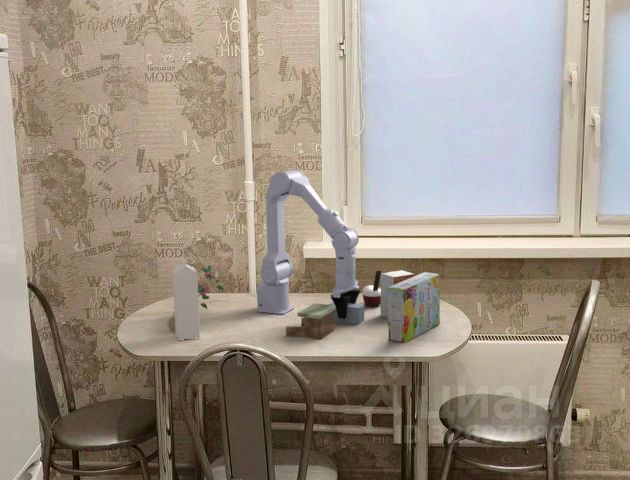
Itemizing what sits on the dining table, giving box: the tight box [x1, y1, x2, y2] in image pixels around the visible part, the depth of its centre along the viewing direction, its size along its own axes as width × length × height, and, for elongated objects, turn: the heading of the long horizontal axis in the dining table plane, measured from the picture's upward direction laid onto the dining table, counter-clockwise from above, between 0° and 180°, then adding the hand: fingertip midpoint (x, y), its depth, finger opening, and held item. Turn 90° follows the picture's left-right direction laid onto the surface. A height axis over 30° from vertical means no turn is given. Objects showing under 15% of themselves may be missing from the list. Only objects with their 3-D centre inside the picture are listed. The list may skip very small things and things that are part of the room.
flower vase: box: [167, 264, 225, 332], centre depth 240 cm, size 12×12×35 cm
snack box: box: [387, 271, 441, 343], centre depth 220 cm, size 21×6×15 cm, turn 145°
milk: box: [172, 257, 201, 341], centre depth 217 cm, size 6×6×22 cm
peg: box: [327, 301, 365, 325], centre depth 233 cm, size 10×4×5 cm, turn 65°
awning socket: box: [285, 302, 336, 340], centre depth 221 cm, size 10×12×7 cm
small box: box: [380, 269, 415, 318], centre depth 237 cm, size 8×6×13 cm
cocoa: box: [362, 270, 382, 308], centre depth 248 cm, size 10×6×12 cm, turn 177°
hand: (345, 315), depth 233 cm, fingers open, 5 cm apart
